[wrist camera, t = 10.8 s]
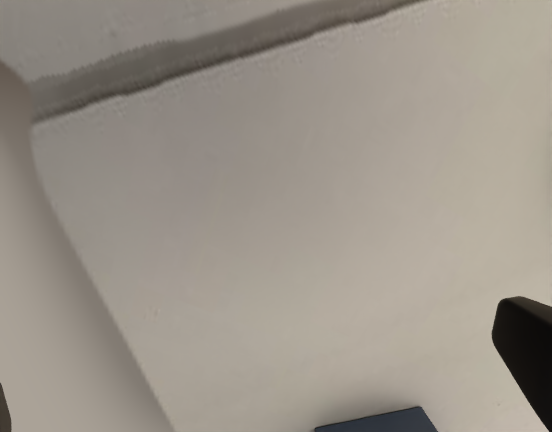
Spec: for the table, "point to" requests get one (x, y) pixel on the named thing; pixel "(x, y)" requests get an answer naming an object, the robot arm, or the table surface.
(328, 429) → the blue box
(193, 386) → the table surface
